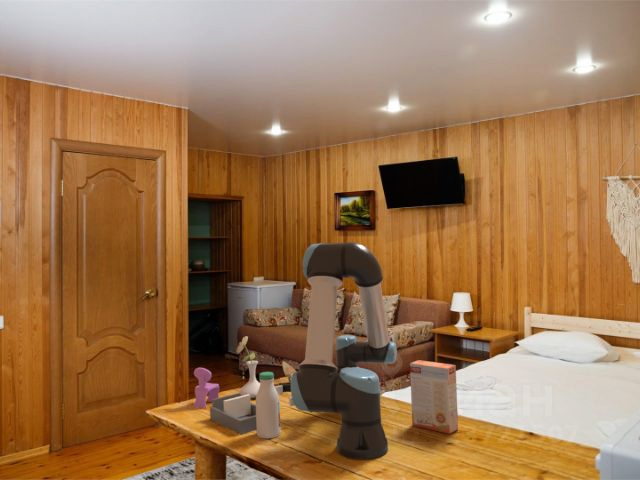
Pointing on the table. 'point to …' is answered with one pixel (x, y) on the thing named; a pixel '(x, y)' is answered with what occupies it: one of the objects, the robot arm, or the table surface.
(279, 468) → the table surface
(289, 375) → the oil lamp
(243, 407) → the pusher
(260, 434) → the milk bottle
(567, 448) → the table surface
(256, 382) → the flower in vase
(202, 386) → the toy chair
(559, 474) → the table surface
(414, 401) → the cracker box
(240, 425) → the grey tray
